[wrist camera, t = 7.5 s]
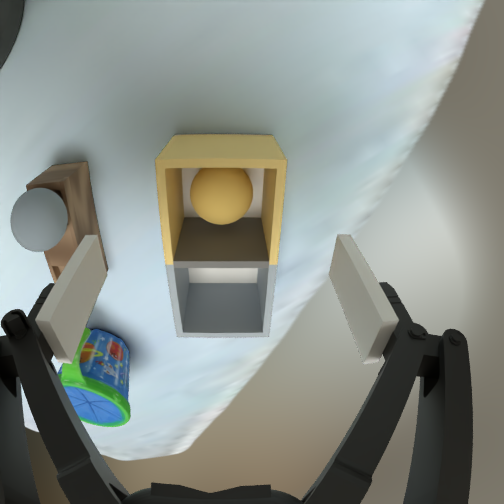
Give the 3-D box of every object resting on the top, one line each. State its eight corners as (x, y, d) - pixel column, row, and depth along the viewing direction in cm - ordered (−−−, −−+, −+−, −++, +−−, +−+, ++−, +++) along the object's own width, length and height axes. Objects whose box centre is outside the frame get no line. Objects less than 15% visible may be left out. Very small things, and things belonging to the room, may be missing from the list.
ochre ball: (192, 154, 25) (184, 173, 21) (252, 154, 26) (256, 174, 22) (194, 208, 28) (188, 236, 24) (250, 208, 29) (253, 236, 24)
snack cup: (145, 382, 43) (136, 441, 35) (82, 371, 42) (66, 425, 33) (137, 310, 35) (118, 381, 27) (59, 297, 34) (28, 360, 25)
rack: (52, 165, 25) (26, 185, 21) (87, 161, 25) (63, 181, 21) (76, 268, 31) (60, 297, 27) (108, 269, 32) (94, 299, 28)
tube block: (174, 134, 25) (154, 159, 19) (272, 134, 25) (287, 160, 19) (184, 284, 33) (177, 336, 27) (261, 284, 34) (269, 336, 28)
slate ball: (24, 181, 21) (-8, 207, 17) (71, 175, 21) (41, 202, 17) (37, 232, 24) (10, 264, 20) (82, 231, 24) (58, 265, 20)
